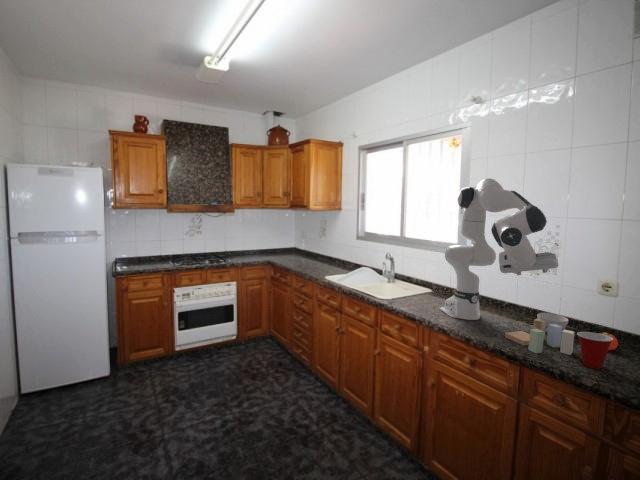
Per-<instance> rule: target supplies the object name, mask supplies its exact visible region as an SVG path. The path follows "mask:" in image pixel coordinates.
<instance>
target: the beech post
mask: <svg viewBox="0 0 640 480" xmlns="http://www.w3.org/2000/svg"><path fill="white" fill-rule="evenodd" d="M532 326H533V327H532V329H539V330H542V331H544V338H546V336H545V335H546V332H545V327H546V321H544V320H541V319H538V318H535V319H533V325H532Z"/></svg>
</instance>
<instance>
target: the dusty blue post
mask: <svg viewBox="0 0 640 480" xmlns="http://www.w3.org/2000/svg"><path fill="white" fill-rule="evenodd" d="M546 335H547V336H546V345H548V346H550V347H551V348H560V347H561V337H562V327H561V326H559V325H557V324H548V333H547V334H546Z"/></svg>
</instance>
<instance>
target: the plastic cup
mask: <svg viewBox="0 0 640 480" xmlns="http://www.w3.org/2000/svg"><path fill="white" fill-rule="evenodd" d="M576 335H577V336H578V340H579V344H580V354H581V361H582V364H583V365H584V366H586V367H588V368H592V369H597V370H599V369H602V367H603V365H604V362H605V360H606V357H607V354H608V351H609V350H608V349H609V346H610V344H611V342H612V340H613V338H612V337H610V336H607V335H603V333H601V334H599V333H597V332H590V331H580V332H579V331H578V332H576Z"/></svg>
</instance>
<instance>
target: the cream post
mask: <svg viewBox="0 0 640 480" xmlns="http://www.w3.org/2000/svg"><path fill="white" fill-rule="evenodd" d="M574 338H575V331H573V330H569V329H568V330H567V329H566V328H565V329H564V330H563V331H562V334H561V344H560V347H559V348H560V350H559V353H561V354H565V355H567V356H568V355H569V356H571V355H572V353H573V349H574V341H575V339H574Z"/></svg>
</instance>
